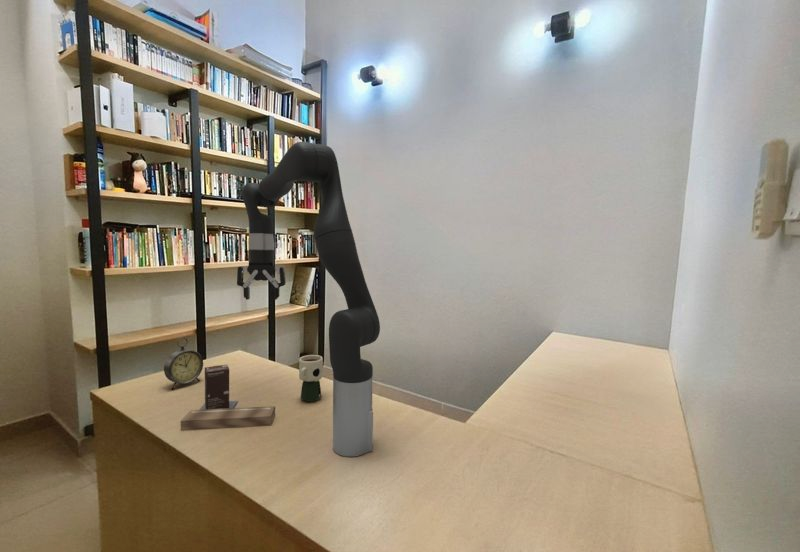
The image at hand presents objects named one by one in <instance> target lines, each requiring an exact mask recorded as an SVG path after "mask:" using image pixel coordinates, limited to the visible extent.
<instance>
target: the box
mask: <svg viewBox="0 0 800 552" xmlns="http://www.w3.org/2000/svg"><path fill="white" fill-rule="evenodd" d="M229 401H230V368H229V364H221V365H220V364H219V365H213V366H207V367H204V404H205V409H225V408H229Z"/></svg>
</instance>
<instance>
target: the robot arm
mask: <svg viewBox="0 0 800 552" xmlns="http://www.w3.org/2000/svg"><path fill="white" fill-rule="evenodd" d="M294 181H303V182H308V183H309V182H311V183H318V184H319V187H320V190H321V195H322V203H321V207H320V211H319V213H318V216H317V219H316V221H315V225H314V228H313V237H314V238H313V239H314V242H315V245H316V249H317V255H318V257H319V260H320V262H321V264H322V265H323V267H324V268H325V270H326V271H327V272H328V274H329V275H330V276H331V277H332V279H333V280H334V281H335V282H336V284H337V285H338V287H339V288H340V289H341V291H342V293H343V296H344V299H345V303H346V306H347V309H342V310H341V309H340V310H339V311H336V312H335V313H334V314H333V315H332V316H331V318H330V321H329V325H328V348H329V362H330V366H331V369H332V376H333V377H332V449H333V451H334V452H335V453H336V454H338V455H340V456H343V457H357V456H358V457H359V456H362V455H364V454H366V453H368V452H373V450H374V449H373V446H374V445H373V443H374V442H373V439H374V436H373V435H374V411H373V385H374V384H373V378H374V377H373V376H374V375H373V374H374V373H373V371H374V369H373V364H372V363H371V362H370V361H369V360H367V359H364V358H361V357H362V356H361V347H364V346H369V345H371V344H373V343H374V342H376V341H377V340H378V338H379V335H380V331H381V324H380V319H379V316H378V312H377V309H376V306H375V304H374V301H373V299H372V296H371V294H370V290H369V288H368V285H367V282H366V279H365V275H364V273H363V268H362V266H361V265H362V264H361V261H360V257H359V254H358V249H357V245H356V244H357V243H356V240H355V237H354V233H353V230H352V227H351V223H350V220H349V216H348V212H347V208H346V204H345V199H344V194H343V189H342V182H341V177H340V170H339V163H338V159H337V157H336V154H335V151H334V150H333V149H332V147H330V146H328V145H326V144H320V143H313V142H309V141H297V142H295V143H293V144H292V145H291V146H290V147H289V148H288V150H287V151H286V153H285V154H284V155H283V156H282V158H281V160H280V161H279V162H278V164H277V165H276V167H275V168H274V170H273V171H271V172H270V173H269V174H267V175H265V177H263V178H261V180H260V182H259V183H257V182H248V183H247V182H246V183H245V185H244V186H243V188H242V191H241V197H242V200H243V203H244V204H243V205H244V207H245V209H246V215H247V217H248V218H247V219H248V242H247V243H248V246H247V247H248V248H247V249H248V266H247V267H245V266H238V267H237V273H236V274H237V276H236V285H237V286H239V287H242V289H243V298H245V300H247V301H248V300H251V299H250V298H251V296H250V295H251V293H250V292H251V290H250V285H251V284H252V282H254V280H255V281H259V282H260V281H264V282H265V281H269V282H270V283H271V284H272V285H273V287H274V288H273V300H275V301H277V300H278V299H279V298H280V297H281V296H280V288H281V287H284V286H285V285H286V282H287V281H286V269H285V267H284V266H280V267H279V266H278V267H276V266H275V241H274V240H275V238H274V220H273V216H271V215H267V214H264V213H263V212H261V210H260V209H259V207H260V208H266V209H267V208H268V209H269V208H274V207H276V206H277V205H278V203H279V201H280V199H281V198H282V197H284V196H286V195H287V194H288V193H290V192H291V190H292V189H293V185H294ZM246 272H247V273H248V274H249V275H250V276H249V277H248V278H247V279H246V281H244V274H246ZM276 272H277V274H279V281H280V282H279V281H277V279H276V277H275V276H274V274H275V273H276Z"/></svg>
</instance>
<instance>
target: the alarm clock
mask: <svg viewBox="0 0 800 552" xmlns="http://www.w3.org/2000/svg"><path fill="white" fill-rule="evenodd" d="M182 339H184V340H185V341H186V343H185V344H184V345H181V346H180V345H179V341H180V340H182ZM188 342H189V341H188V338H186V337H184V336H182V337H180V338H178V340H177V342H176V345H177V347H179V348H180V349H178V350H176V351H174V352H173V353H171V354H170V355H169V356H168V357H167V358H166V360H165V362H164V366H163V371H164V372H163V373H164V376H165V377H166V378H167V379H168V380H169V381H170V382H173V384H172V387H171V388H170V390H174V389H175V387H176V385H177V384H179V385H187V384H190V383H191V382H193V381H195V380H196V381H197V382H200V379H199V378H198V377H199V376H200V375H201V373H202V371H203V369H204V361H203V360H204V358H203V357H202V355H201V354H200V353H199V351H196V350H193V349H185V347H186V346H187V345H188Z"/></svg>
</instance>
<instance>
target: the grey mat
mask: <svg viewBox="0 0 800 552" xmlns="http://www.w3.org/2000/svg"><path fill="white" fill-rule="evenodd" d="M238 402H239V401H238V400H229V408H236V406H237V404H238ZM204 409H205V403H204V404H203V405H202V406H201V407H200V408H199V409H198V410H204Z"/></svg>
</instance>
